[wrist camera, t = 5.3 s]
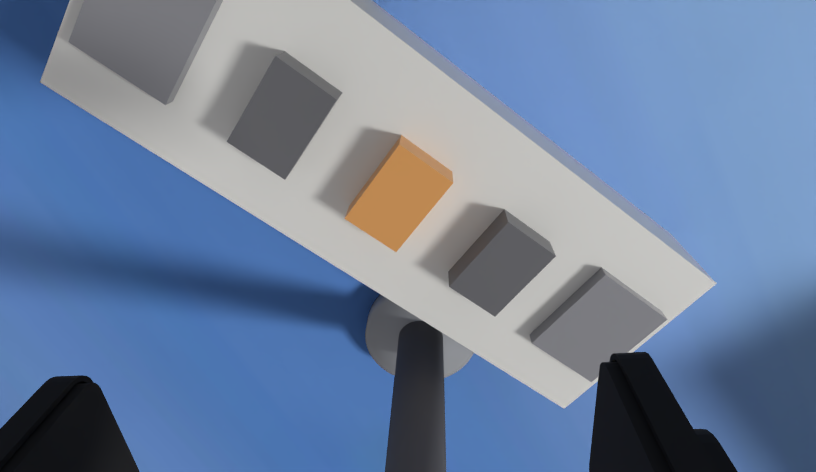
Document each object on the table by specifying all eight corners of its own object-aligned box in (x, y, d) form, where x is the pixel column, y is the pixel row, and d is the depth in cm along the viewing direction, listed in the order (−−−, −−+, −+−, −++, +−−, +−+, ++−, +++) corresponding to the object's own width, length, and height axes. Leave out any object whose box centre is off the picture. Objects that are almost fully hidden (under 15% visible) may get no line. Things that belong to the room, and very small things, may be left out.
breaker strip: (200, -136, 20) (108, -180, 14) (667, 230, 26) (731, 299, 20) (115, 61, 23) (16, 88, 18) (544, 342, 29) (569, 428, 24)
